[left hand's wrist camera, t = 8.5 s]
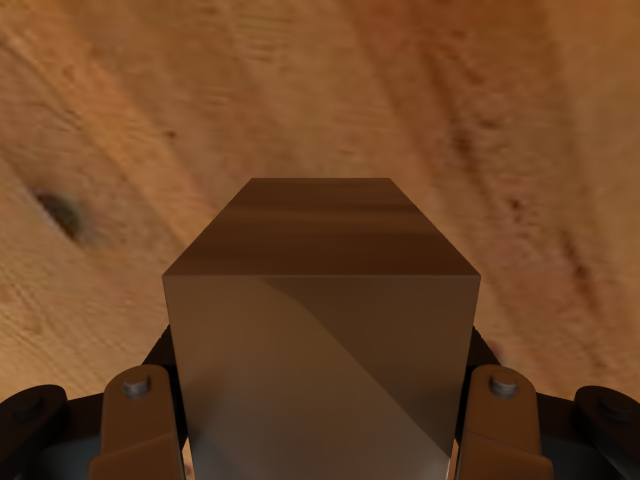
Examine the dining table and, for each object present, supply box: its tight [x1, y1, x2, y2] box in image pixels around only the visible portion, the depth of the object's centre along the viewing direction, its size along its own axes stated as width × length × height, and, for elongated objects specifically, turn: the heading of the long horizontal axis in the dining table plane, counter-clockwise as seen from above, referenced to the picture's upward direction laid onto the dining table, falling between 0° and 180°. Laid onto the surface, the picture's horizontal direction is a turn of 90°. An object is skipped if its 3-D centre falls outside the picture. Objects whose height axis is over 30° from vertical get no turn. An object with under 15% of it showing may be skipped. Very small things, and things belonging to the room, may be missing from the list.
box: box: [162, 178, 481, 480], centre depth 15 cm, size 22×6×10 cm, turn 0°
